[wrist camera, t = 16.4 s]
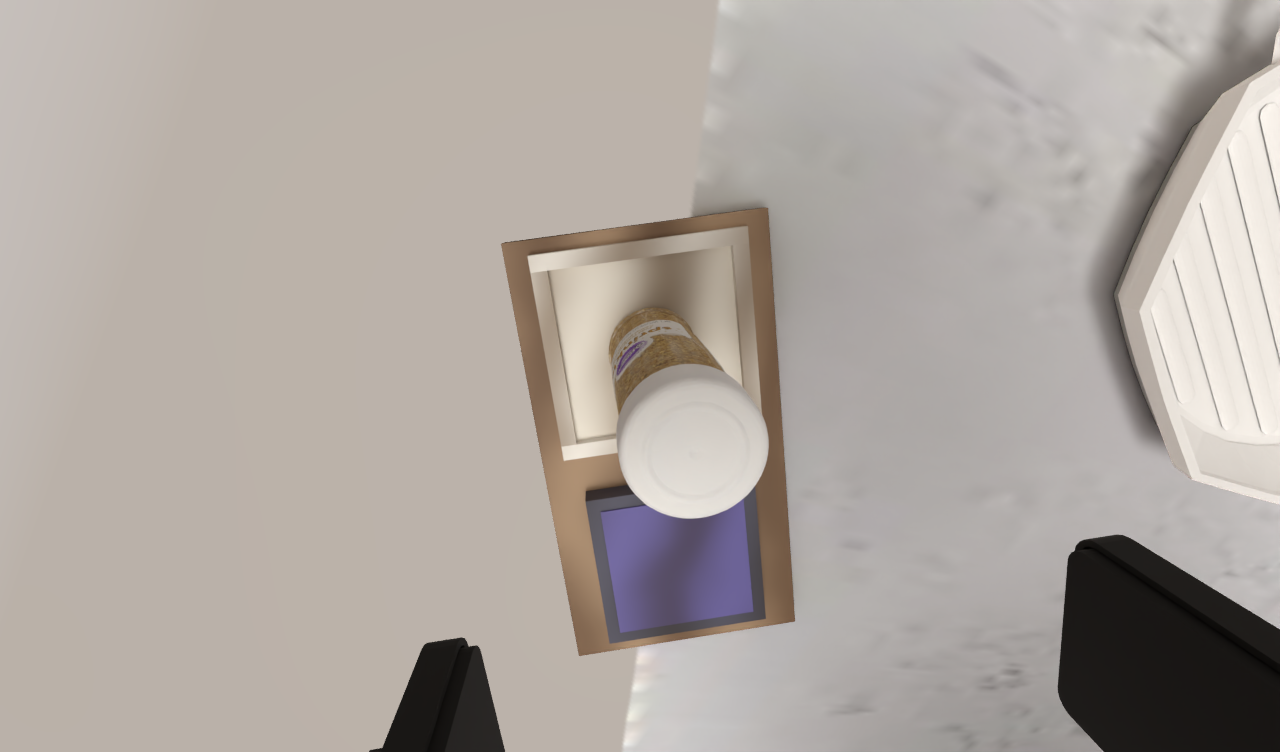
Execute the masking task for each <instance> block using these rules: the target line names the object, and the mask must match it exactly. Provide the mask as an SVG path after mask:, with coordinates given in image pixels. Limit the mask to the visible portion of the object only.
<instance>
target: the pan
mask: <svg viewBox="0 0 1280 752" xmlns="http://www.w3.org/2000/svg"><path fill="white" fill-rule="evenodd" d="M1114 297H1115V302H1116V306H1117V310H1118V314H1119V318H1120V322H1121V327H1122V331H1123V334H1124V338H1125V341H1126V345H1127V348H1128V352H1129V355H1130V359H1131V362H1132V365H1133V368H1134V370H1135V373H1136V376H1137V378H1138V381H1139V384H1140V387H1141V389H1142V392H1143V395H1144V397H1145V399H1146V402H1147V404H1148V406H1149V409H1150V411H1151V413H1152V416H1153V418H1154V420H1155V423H1156V424H1157V425H1158V427H1159V430H1160V433H1161V435H1162V438H1163V441H1164V443H1165V446H1166V448H1167V451H1168V454H1169V456H1170V459H1171V462H1172V464H1173V465H1174V466H1175V467H1176V468H1177V469H1178V470H1180V471H1181V472H1182V473H1184V474H1185V475H1186V476H1188V477H1189V478H1190V479H1192V480H1194V481H1198V482H1201V483H1204V484H1208V485H1211V486H1215V487H1218V488H1221V489H1225V490H1228V491H1232V492H1235V493H1239V494H1242V495H1246V496H1249V497H1253V498H1257V499H1260V500H1264V501H1268V502H1271V503H1276V504H1280V28H1279V31H1278V33H1277V35H1276V39H1275V45H1274V52H1273V58H1272V64H1270V65H1269V66H1267V67H1265V68H1264V69H1262V70H1260V71H1259V72H1257V73H1255V74H1254V75H1252V76H1251V77H1249V78H1247V79H1246V80H1244V81H1242V82H1241V83H1239V84H1237V85H1236V86H1234V87H1232V88H1231V89H1229V90H1228V91H1226V92H1224V93H1223V94H1222V95H1221V96H1220V97H1219V99H1218V100H1217V101H1216V103H1215V104H1214V105H1213V106H1212V108H1211V109H1210V110H1209V112H1208V113H1207V114H1206V116H1205V117H1204V118H1203V120H1202V121H1200V122H1199V123H1197V124H1196V125H1194V126H1193V127H1192V129H1191V130H1190V132H1189V134H1188V136H1187V138H1186V140H1185V142H1184V143H1183V145H1182V147H1181V149H1180V151H1179V153H1178V155H1177V156H1176V158H1175V160H1174V162H1173V164H1172V166H1171V168H1170V169H1169V171H1168V173H1167V175H1166V177H1165V179H1164V181H1163V183H1162V185H1161V188H1160V190H1159V192H1158V194H1157V196H1156V198H1155V200H1154V202H1153V204H1152V206H1151V208H1150V210H1149V212H1148V214H1147V216H1146V218H1145V221H1144V223H1143V225H1142V227H1141V230H1140V232H1139V234H1138V236H1137V239H1136V241H1135V243H1134V245H1133V248H1132V250H1131V252H1130V255H1129V257H1128V260H1127V262H1126V265H1125V267H1124V270H1123V272H1122V275H1121V277H1120V280H1119V282H1118V285H1117V287H1116V290H1115V292H1114Z"/></svg>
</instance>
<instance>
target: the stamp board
mask: <svg viewBox="0 0 1280 752" xmlns="http://www.w3.org/2000/svg"><path fill="white" fill-rule="evenodd" d="M501 246H502V251H503V256H504V261H505V266H506V272H507V278H508V283H509V288H510V294H511V299H512V304H513V309H514V315H515V320H516V325H517V330H518V336H519V341H520V346H521V352H522V357H523V362H524V367H525V373H526V378H527V383H528V388H529V393H530V399H531V404H532V410H533V415H534V420H535V425H536V431H537V436H538V441H539V447H540V452H541V457H542V463H543V468H544V473H545V478H546V483H547V489H548V494H549V499H550V505H551V510H552V515H553V520H554V526H555V531H556V536H557V542H558V547H559V552H560V558H561V562H562V568H563V573H564V578H565V584H566V589H567V595H568V600H569V605H570V610H571V616H572V621H573V626H574V631H575V636H576V642H577V647H578V652H579V656H582V655H588V654H595V653H601V652H607V651H613V650H620V649H626V648H632V647H638V646H645V645H651V644H657V643H663V642H670V641H676V640H682V639H688V638H694V637H701V636H707V635H713V634H719V633H726V632H732V631H738V630H744V629H751V628H757V627H763V626H769V625H775V624H782V623H788V622H794V621H795V615H794V600H793V584H792V569H791V554H790V538H789V523H788V508H787V492H786V477H785V462H784V446H783V431H782V416H781V400H780V385H779V370H778V354H777V339H776V324H775V308H774V293H773V278H772V262H771V247H770V232H769V216H768V208H757V209H750V210H743V211H735V212H728V213H720V214H713V215H705V216H698V217H691V218H683V219H676V220H669V221H661V222H654V223H646V224H639V225H631V226H624V227H617V228H609V229H602V230H594V231H587V232H579V233H573V234H565V235H557V236H550V237H542V238H535V239H528V240H520V241H513V242H505V243H502V244H501ZM645 308H660V309H667V310H670V311H672V312H674V313H676V314H678V315H680V316H681V317H682V318H683V319H684V320H685V321H686V322H687V323H688V325H689V326H690V327H691V329H692V332H693V334H694V335H696V336H697V337H698V338H699V339H700V340H701V341H702V343H703V344H704V345H705V346H706V347H707V348H708V350H709V351H710V352H711V353H712V354H713V356H714V357H715V358H716V359H717V361H718V362H719V363H720V365H721V366H722V367H723V369H724V371H725V372H726V374H728V375H729V376H731V377H732V378H733V379H735V380H736V381H737V382H738V383H739V384H740V385H741V386H742V387H743V388H744V389H745V391H746V392H747V393H748V394H749V396H750V397H751V398H752V400H753V401H754V402H755V404H756V405H757V407H758V409H759V410H760V412H761V414H762V416H763V418H764V421H765V423H766V427H767V432H768V438H769V449H768V457H767V462H766V465H765V468H764V470H763V473H762V475H761V477H760V479H759V480H758V482H757V484H756V485H755V486H754V488H753V489H752V490H751V492H750V493H749V494H748V495H747V496H746V497H744V498H743V499H742V500H741V501H740V502H738V503H737V504H736V505H734V506H733V507H731V508H729V509H727V510H726V511H723V512H720V513H718V514H715V515H712V516H708V517H703V518H693V519H687V518H677V517H672V516H669V515H666V514H663V513H660V512H658V511H656V510H654V509H653V508H650V507H649V506H647V505H646V504H645V503H644V502H642V501H641V500H640V499H639V498H638V497H637V496H636V495H635V494H634V492H633V491H632V490H631V489H630V487H629V486H628V484H627V482H626V480H625V478H624V476H623V473H622V471H621V467H620V462H619V457H618V451H617V440H616V429H617V422H618V418H619V415H618V409H617V403H616V400H615V396H614V390H613V381H612V370H611V364H610V361H609V344H610V340H611V337H612V334H613V332H614V330H615V328H616V327H617V326H618V325H619V323H620V322H621V321H622V320H623V319H624V318H626V317H627V316H629V315H631V314H632V313H634V312H636V311H638V310H641V309H645Z"/></svg>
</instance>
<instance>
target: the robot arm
mask: <svg viewBox="0 0 1280 752" xmlns="http://www.w3.org/2000/svg"><path fill="white" fill-rule="evenodd" d="M1058 693H1059V697H1060V700H1061V702H1062V704H1063V706H1064V708H1065V709H1066V711H1067V712H1068V714H1069V715H1070V716H1071V717H1072V718H1073V719H1074V720H1075V721H1076V723H1077V724H1078V725H1079V726H1080V727H1081V728H1082V729H1083V730H1084V731H1085V732H1086V733H1087V734H1088V735H1089V736H1090V737H1091V738H1092V740H1093V741H1094V742H1095V743H1096V744H1097V745H1098V746H1099V747H1100V748H1101V749H1102V750H1103V751H1104V752H1280V629H1278V628H1276V627H1275V626H1273V625H1271V624H1270V623H1268V622H1266V621H1265V620H1263V619H1262V618H1260V617H1258V616H1257V615H1255V614H1253V613H1252V612H1250V611H1248V610H1247V609H1245V608H1244V607H1242V606H1240V605H1239V604H1237V603H1235V602H1234V601H1232V600H1230V599H1229V598H1227V597H1226V596H1224V595H1222V594H1221V593H1219V592H1217V591H1216V590H1214V589H1212V588H1211V587H1209V586H1208V585H1206V584H1204V583H1203V582H1201V581H1199V580H1198V579H1196V578H1194V577H1193V576H1191V575H1190V574H1188V573H1186V572H1185V571H1183V570H1181V569H1180V568H1178V567H1176V566H1175V565H1173V564H1172V563H1170V562H1168V561H1167V560H1165V559H1163V558H1162V557H1160V556H1158V555H1157V554H1155V553H1154V552H1152V551H1150V550H1149V549H1147V548H1145V547H1144V546H1142V545H1140V544H1139V543H1137V542H1136V541H1134V540H1132V539H1131V538H1128V537H1126V536H1124V535H1112V536H1105V537H1099V538H1093V539H1086V540H1083V541H1080V542H1079V543H1078V544H1077V545H1076V548H1075V551H1074V552H1072V553H1071V554H1070V555H1069V558H1068V565H1067V578H1066V590H1065V603H1064V615H1063V628H1062V641H1061V653H1060V666H1059V678H1058ZM369 752H505V749H504V745H503V741H502V737H501V733H500V729H499V725H498V721H497V716H496V712H495V708H494V704H493V700H492V696H491V692H490V687H489V684H488V679H487V675H486V671H485V668H484V663H483V659H482V654H481V651H480V649H479V647H478V646H470V647H468V644H467V641H466V640H465V638H457V639H450V640H443V641H437V642H431V643H427V644H425V645H424V646H423V648H422V650H421V652H420V655H419V657H418V660H417V662H416V665H415V667H414V670H413V672H412V675H411V677H410V680H409V682H408V685H407V688H406V690H405V693H404V695H403V698H402V700H401V703H400V705H399V708H398V710H397V713H396V715H395V718H394V720H393V723H392V725H391V728H390V731H389V733H388V735H387V738H386V741H385V743H384V745H383V748H380V749H374V750H370V751H369Z"/></svg>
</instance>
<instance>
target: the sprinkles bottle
mask: <svg viewBox="0 0 1280 752" xmlns="http://www.w3.org/2000/svg"><path fill="white" fill-rule="evenodd" d="M609 361H610V364H611V370H612V381H613V390H614V396H615V400H616V403H617V409H618V415H619V418H618V422H617V429H616V440H617V451H618V457H619V462H620V467H621V471H622V473H623V476H624V478H625V480H626V482H627V484H628V486H629V487H630V489H631V490H632V491H633V492H634V494H635V495H636V496H637V497H638V498H639V499H640V500H641V501H642V502H644V503H645V504H646V505H647V506H649V507H650V508H653V509H654V510H656V511H658V512H660V513H663V514H666V515H669V516H672V517H677V518H687V519H693V518H703V517H708V516H712V515H715V514H718V513H720V512H723V511H726V510H727V509H729V508H731V507H733V506H734V505H736V504H737V503H738V502H740V501H741V500H742V499H743V498H744V497H746V496H747V495H748V494H749V493H750V492H751V490H752V489H753V488H754V486H755V485H756V484H757V482H758V480H759V479H760V477H761V475H762V473H763V470H764V468H765V465H766V462H767V457H768V449H769V438H768V432H767V427H766V423H765V421H764V418H763V416H762V414H761V412H760V410H759V409H758V407H757V405H756V404H755V402H754V401H753V400H752V398H751V397H750V396H749V394H748V393H747V392H746V391H745V389H744V388H743V387H742V386H741V385H740V384H739V383H738V382H737V381H736V380H735V379H733V378H732V377H731V376H729V375H728V374H726V372H725V371H724V369H723V367H722V366H721V365H720V363H719V362H718V361H717V359H716V358H715V357H714V356H713V354H712V353H711V352H710V351H709V350H708V348H707V347H706V346H705V345H704V344H703V343H702V341H701V340H700V339H699V338H698V337H697V336H696V335H694V334H693V332H692V329H691V327H690V326H689V325H688V323H687V322H686V321H685V320H684V319H683V318H682V317H681V316H680V315H678V314H676V313H674V312H672V311H670V310H667V309H660V308H645V309H641V310H638V311H636V312H634V313H632V314H631V315H629V316H627V317H626V318H624V319H623V320H622V321H621V322H620V323H619V325H618V326H617V327H616V328H615V330H614V332H613V334H612V337H611V340H610V344H609Z"/></svg>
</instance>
